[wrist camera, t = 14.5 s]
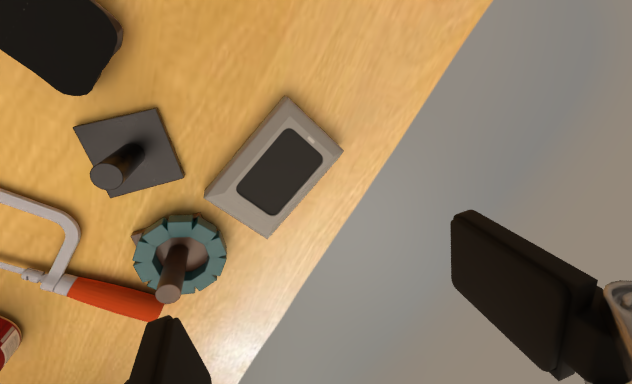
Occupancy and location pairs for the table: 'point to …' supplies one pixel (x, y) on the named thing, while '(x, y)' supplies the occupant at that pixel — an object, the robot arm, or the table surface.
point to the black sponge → (60, 40)
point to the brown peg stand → (175, 263)
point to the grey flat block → (274, 169)
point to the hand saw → (73, 286)
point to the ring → (173, 228)
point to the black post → (130, 152)
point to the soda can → (8, 339)
